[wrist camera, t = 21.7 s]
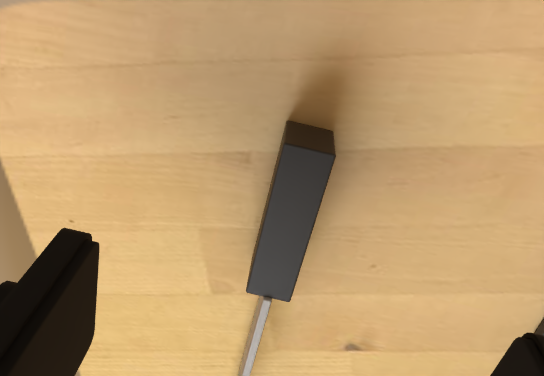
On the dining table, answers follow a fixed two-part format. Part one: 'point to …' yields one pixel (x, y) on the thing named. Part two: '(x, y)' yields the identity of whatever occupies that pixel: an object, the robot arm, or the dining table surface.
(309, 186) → the knife
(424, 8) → the dining table surface
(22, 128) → the dining table surface
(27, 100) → the dining table surface
